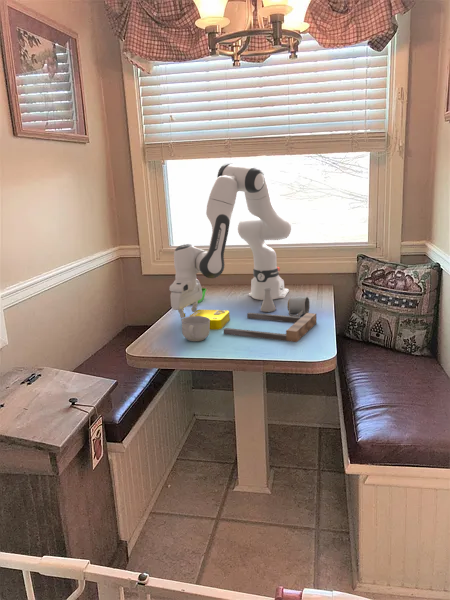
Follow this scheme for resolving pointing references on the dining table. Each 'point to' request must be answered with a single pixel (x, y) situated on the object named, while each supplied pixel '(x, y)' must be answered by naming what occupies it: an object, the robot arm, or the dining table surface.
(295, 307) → the ceramic mug
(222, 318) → the element tile
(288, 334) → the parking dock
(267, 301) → the flask
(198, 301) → the fruit basket
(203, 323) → the teacup
